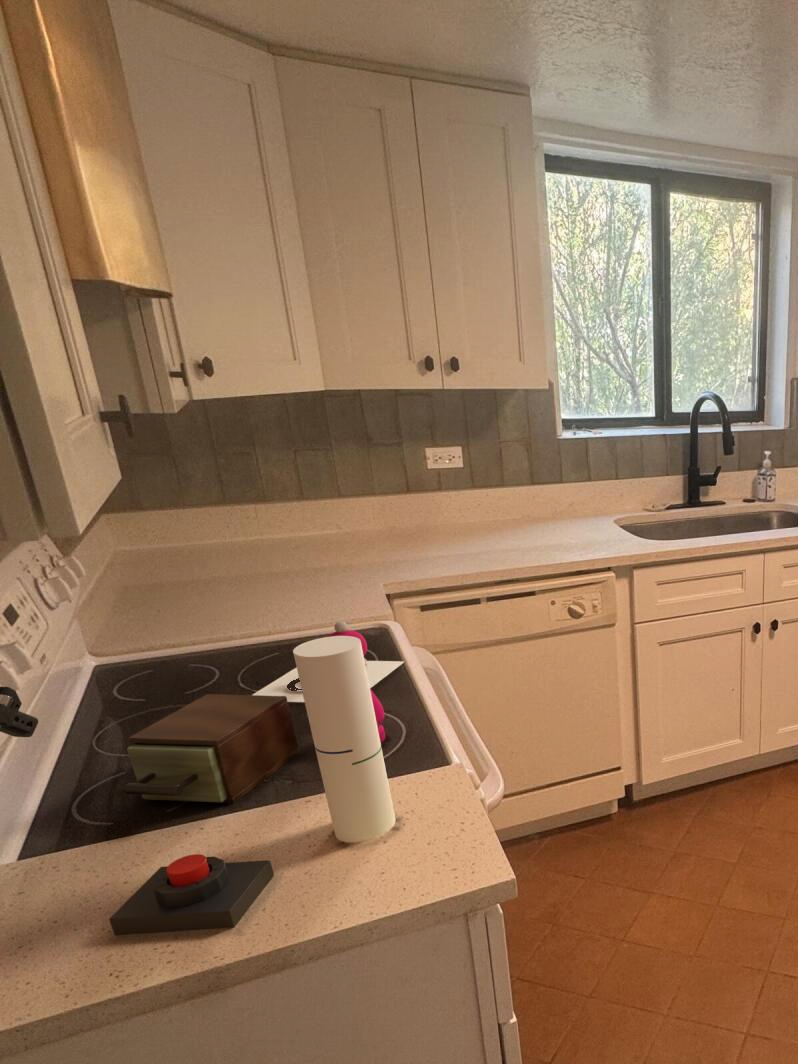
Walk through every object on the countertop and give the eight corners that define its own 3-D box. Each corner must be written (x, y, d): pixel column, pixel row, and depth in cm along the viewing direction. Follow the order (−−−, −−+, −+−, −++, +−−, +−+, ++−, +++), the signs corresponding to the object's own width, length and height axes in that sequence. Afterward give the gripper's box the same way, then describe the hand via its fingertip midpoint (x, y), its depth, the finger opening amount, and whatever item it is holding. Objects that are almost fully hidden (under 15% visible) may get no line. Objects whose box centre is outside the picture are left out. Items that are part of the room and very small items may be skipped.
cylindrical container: (338, 817, 103) (298, 640, 94) (396, 807, 105) (363, 632, 97) (331, 847, 97) (288, 660, 88) (394, 835, 99) (357, 651, 90)
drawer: (198, 819, 101) (183, 766, 99) (116, 816, 102) (98, 763, 99) (285, 754, 118) (274, 707, 115) (214, 752, 119) (201, 705, 116)
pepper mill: (342, 734, 126) (317, 617, 119) (391, 728, 128) (369, 612, 121) (335, 755, 119) (308, 632, 112) (386, 748, 121) (362, 626, 114)
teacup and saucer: (306, 674, 150) (302, 654, 148) (346, 675, 149) (342, 655, 148) (277, 693, 142) (272, 672, 140) (320, 694, 141) (315, 673, 140)
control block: (114, 936, 82) (103, 904, 81) (166, 882, 91) (156, 853, 89) (234, 928, 83) (225, 897, 82) (274, 875, 92) (266, 846, 90)
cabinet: (233, 803, 107) (216, 740, 103) (147, 800, 108) (127, 737, 104) (299, 752, 120) (286, 695, 117) (222, 750, 121) (207, 693, 118)
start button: (163, 888, 84) (158, 875, 83) (182, 868, 87) (178, 855, 87) (198, 886, 84) (194, 873, 84) (216, 866, 88) (212, 853, 87)
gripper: (-56, 626, 70) (100, 698, 85) (-191, 623, 71) (-12, 694, 86) (-100, 705, 66) (71, 764, 82) (-240, 700, 67) (-45, 760, 83)
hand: (28, 728), depth 84 cm, fingers closed
